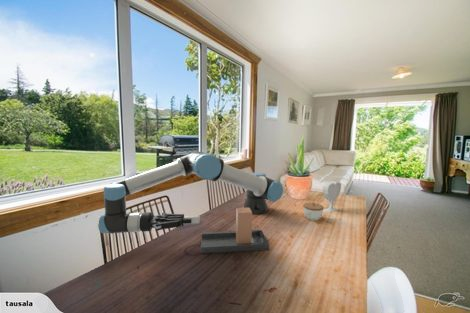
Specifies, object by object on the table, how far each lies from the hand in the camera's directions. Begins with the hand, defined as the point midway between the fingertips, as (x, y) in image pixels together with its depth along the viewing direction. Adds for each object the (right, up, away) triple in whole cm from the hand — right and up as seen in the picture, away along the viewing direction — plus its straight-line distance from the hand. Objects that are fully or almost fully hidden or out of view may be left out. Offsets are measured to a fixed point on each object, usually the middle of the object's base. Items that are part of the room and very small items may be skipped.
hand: (199, 219), depth 91 cm
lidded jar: (+60, -9, +32) cm, 68 cm away
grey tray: (+14, -11, +3) cm, 19 cm away
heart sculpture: (+77, -8, +47) cm, 91 cm away
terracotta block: (+19, -10, +3) cm, 22 cm away
